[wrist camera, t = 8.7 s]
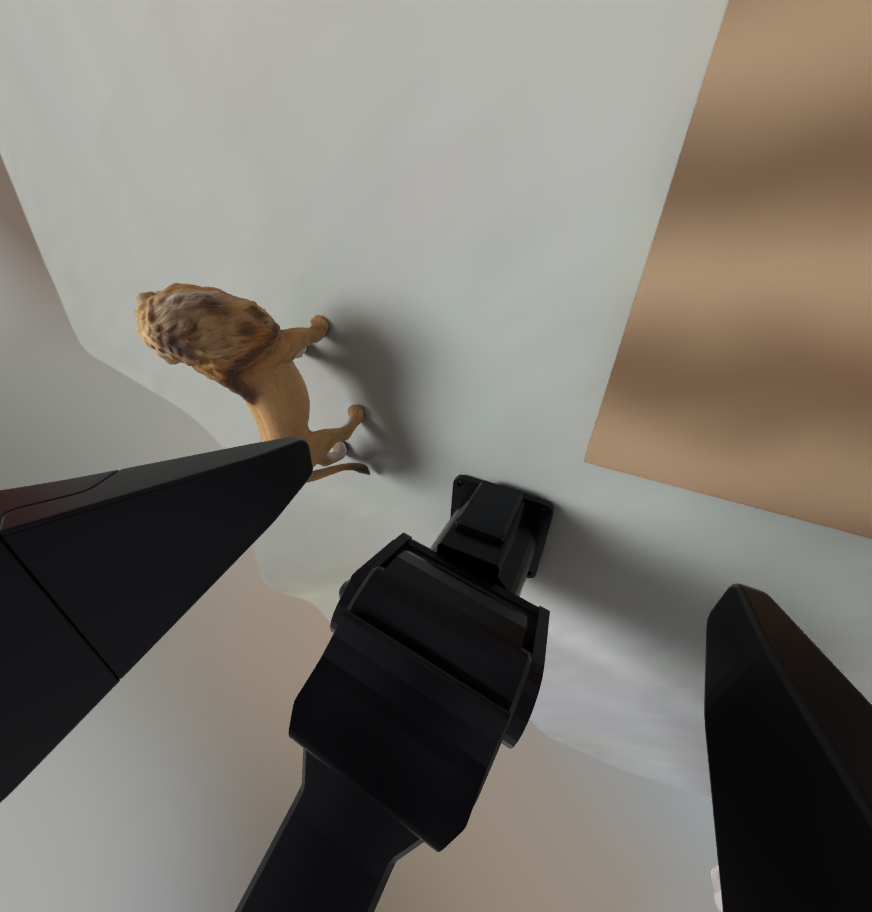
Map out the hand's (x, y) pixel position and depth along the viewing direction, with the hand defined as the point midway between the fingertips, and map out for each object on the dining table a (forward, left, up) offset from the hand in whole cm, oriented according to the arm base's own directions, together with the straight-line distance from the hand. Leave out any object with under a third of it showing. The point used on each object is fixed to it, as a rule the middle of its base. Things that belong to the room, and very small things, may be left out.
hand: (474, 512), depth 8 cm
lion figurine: (-4, +16, -13) cm, 21 cm away
